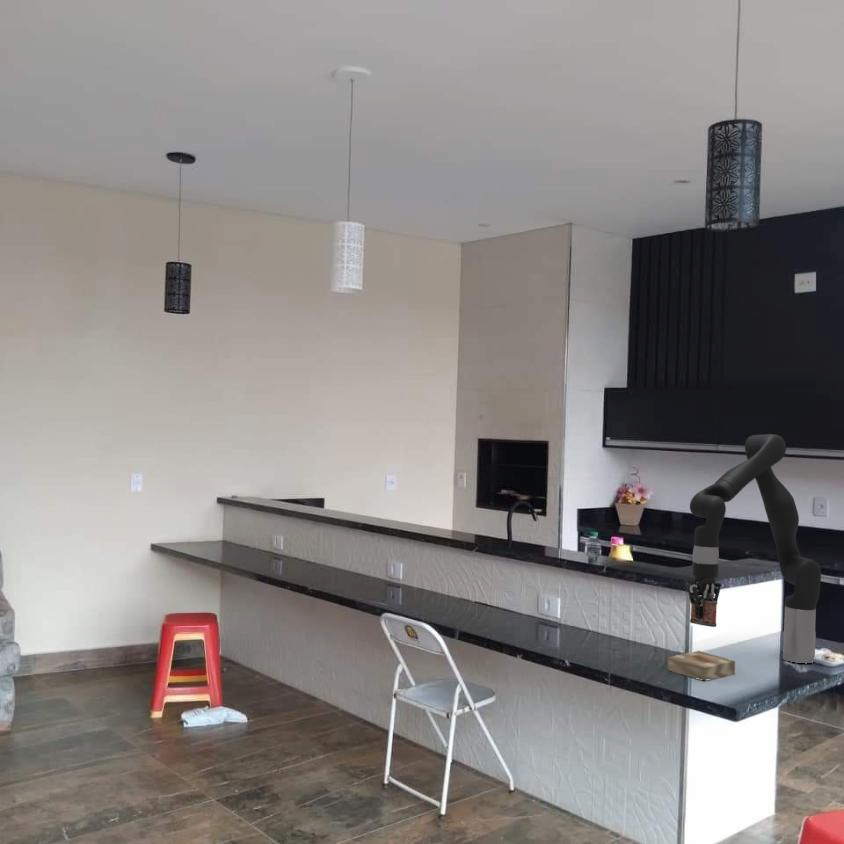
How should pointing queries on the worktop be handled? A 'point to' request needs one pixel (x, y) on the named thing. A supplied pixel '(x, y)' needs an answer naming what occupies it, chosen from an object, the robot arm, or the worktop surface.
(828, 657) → the worktop surface
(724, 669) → the dock
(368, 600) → the worktop surface
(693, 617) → the lighter
